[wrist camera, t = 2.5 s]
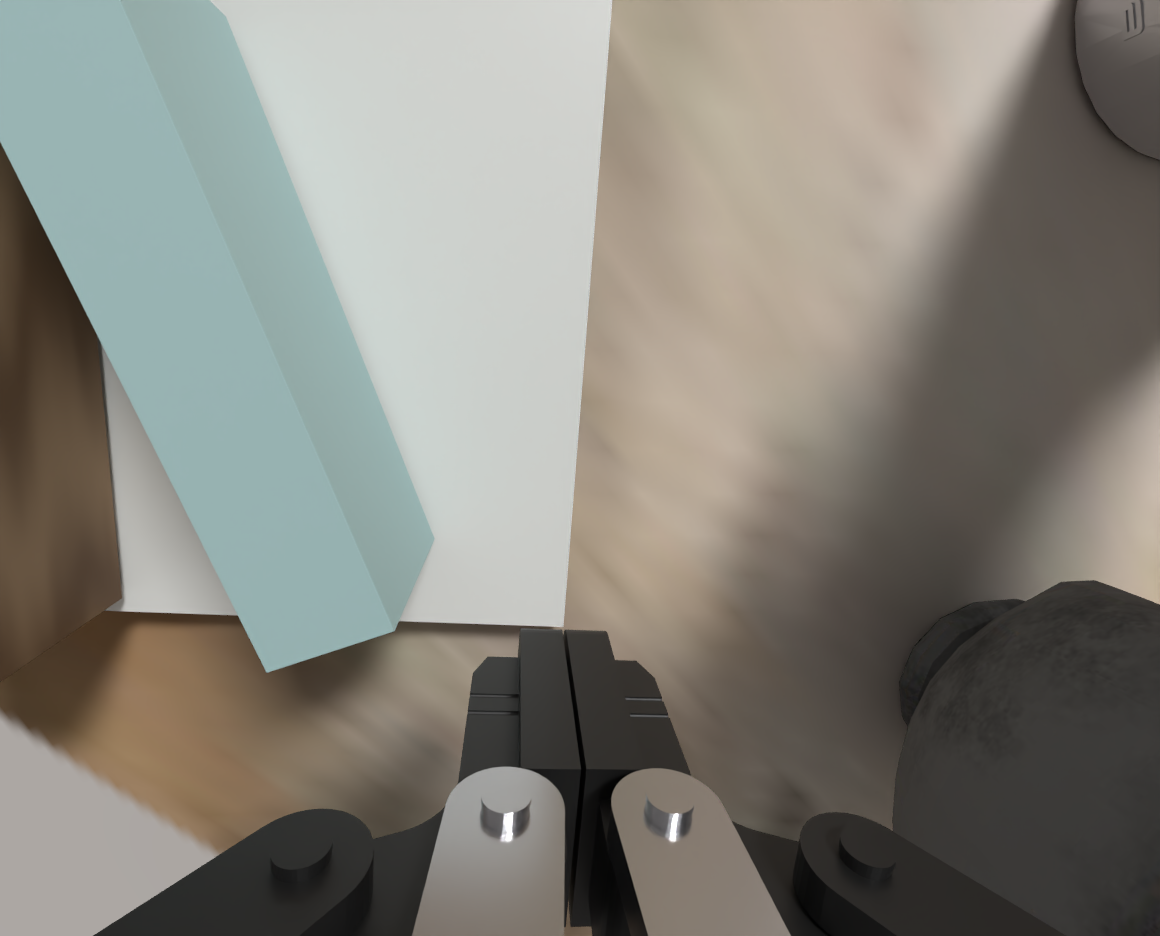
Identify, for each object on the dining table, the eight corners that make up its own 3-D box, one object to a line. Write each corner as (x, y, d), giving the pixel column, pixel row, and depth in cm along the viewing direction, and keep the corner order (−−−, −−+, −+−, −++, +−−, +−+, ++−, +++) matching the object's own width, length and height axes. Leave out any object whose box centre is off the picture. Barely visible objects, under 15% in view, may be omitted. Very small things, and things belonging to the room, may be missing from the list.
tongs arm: (28, -30, 16) (-348, -287, 9) (190, -83, 16) (-65, -379, 9) (308, 577, 20) (195, 709, 13) (436, 535, 20) (387, 647, 13)
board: (611, -39, 18) (617, -63, 17) (561, 610, 22) (563, 626, 21) (-39, -125, 16) (-83, -159, 15) (49, 591, 21) (21, 607, 20)
